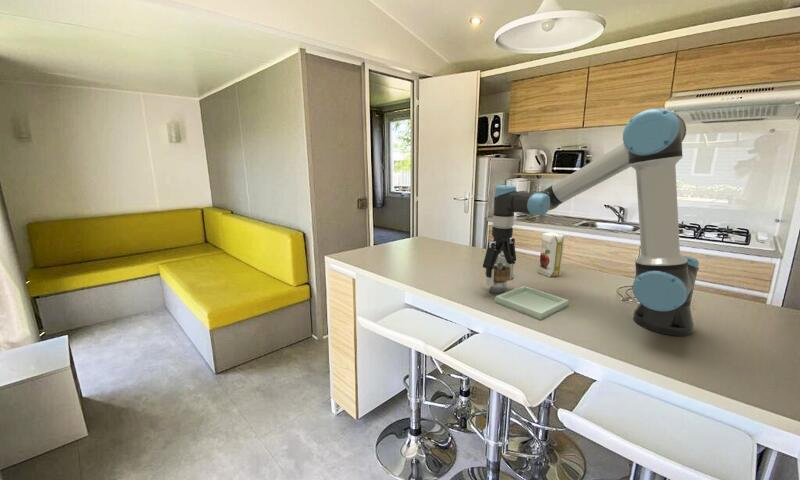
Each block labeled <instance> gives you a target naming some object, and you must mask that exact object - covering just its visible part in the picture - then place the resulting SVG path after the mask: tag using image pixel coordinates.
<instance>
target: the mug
mask: <svg viewBox="0 0 800 480" xmlns="http://www.w3.org/2000/svg"><path fill="white" fill-rule="evenodd" d="M495 250H496V249H495ZM512 258H513V257H512ZM497 263H503V266H505V263H507V261H506V259H505V256H504V254H501V255H498V261H497V262H496V264H497ZM514 265H515V264H512V270H511V280H512V279H513V278H514Z"/></svg>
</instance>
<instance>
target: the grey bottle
mask: <svg viewBox="0 0 800 480" xmlns="http://www.w3.org/2000/svg"><path fill="white" fill-rule="evenodd" d="M496 265H497V270H502V266H503V263H497V262H496ZM507 282H508V281H503V282H501V281H494V280H493V286H490V285H489V287H490V290H489V292H490V294H492V295H495V296H498V295H500V294H503V293H506V292H507Z"/></svg>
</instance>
